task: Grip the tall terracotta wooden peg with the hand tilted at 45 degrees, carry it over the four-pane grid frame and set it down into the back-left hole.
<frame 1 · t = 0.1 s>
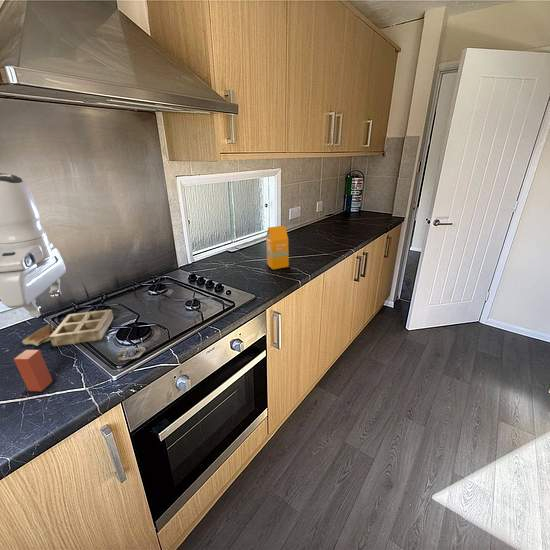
hand: (47, 305, 70), 21 cm above the worktop, tool pointing down, fingers open, 8 cm apart
peg: (40, 386, 75), on the worktop
grey flat piece: (131, 354, 86), on the worktop
four-pane grid frame: (85, 330, 98), on the worktop
orange juice: (277, 265, 148), on the worktop
shard: (39, 338, 95), on the worktop
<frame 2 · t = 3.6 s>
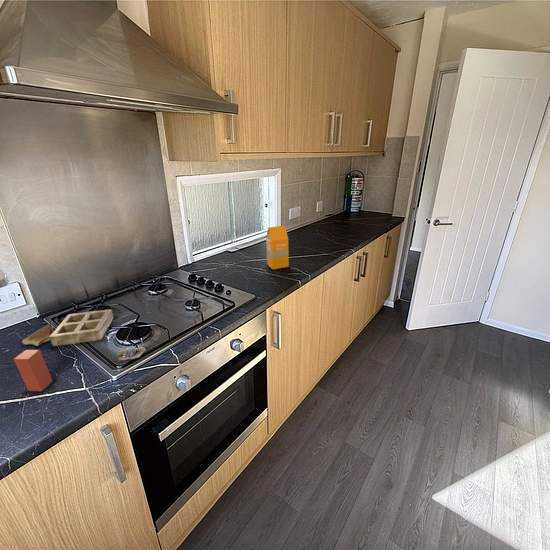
nothing on the worktop moved.
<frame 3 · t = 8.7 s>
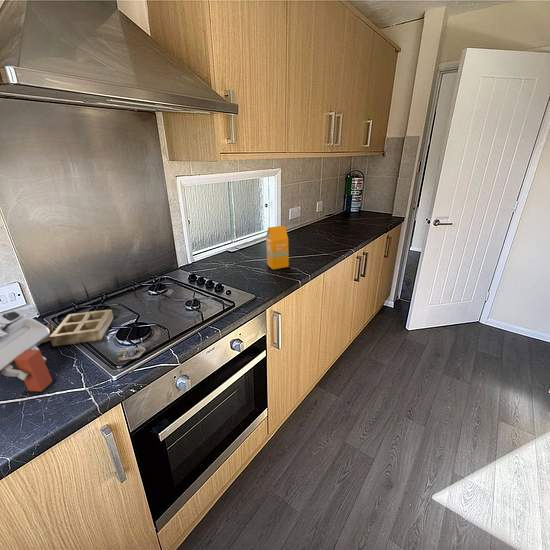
hand: (35, 369, 73), 5 cm above the worktop, tool tilted 45°, fingers closed on peg, 3 cm apart
peg: (40, 386, 75), on the worktop, touching gripper
everything else where it was.
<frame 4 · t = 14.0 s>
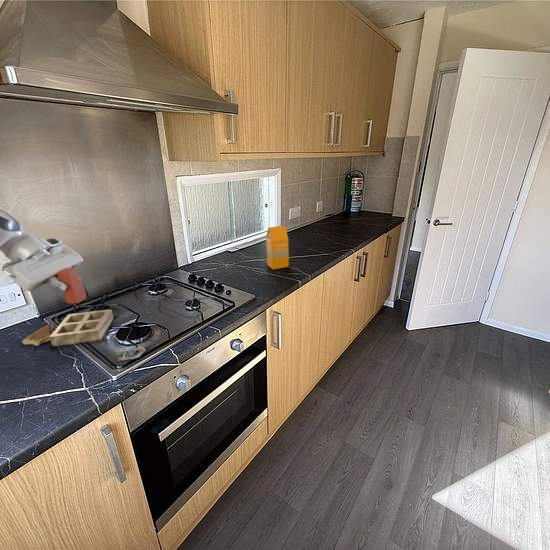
hand: (73, 284, 87), 18 cm above the worktop, tool tilted 45°, fingers closed on peg, 3 cm apart
peg: (76, 300, 90), point 13 cm above the worktop, touching gripper
everything else where it was.
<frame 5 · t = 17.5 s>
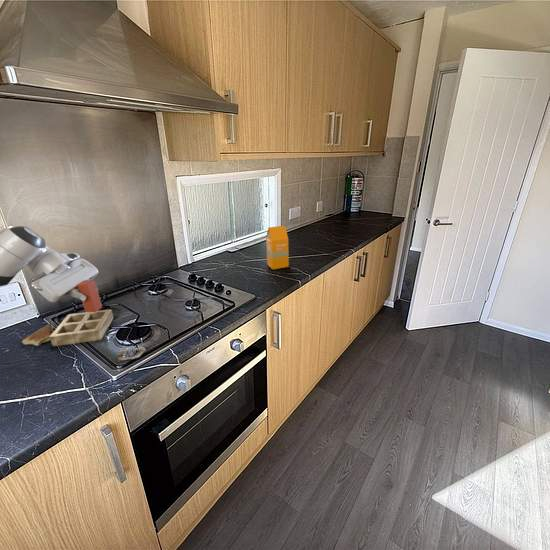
hand: (91, 295, 96), 11 cm above the worktop, tool tilted 45°, fingers closed on peg, 3 cm apart
peg: (94, 309, 98), point 6 cm above the worktop, touching gripper
everything else where it was.
when the fingers open (8 cm above the worktop, at t = 19.5 s): peg drops 3 cm, resting in four-pane grid frame.
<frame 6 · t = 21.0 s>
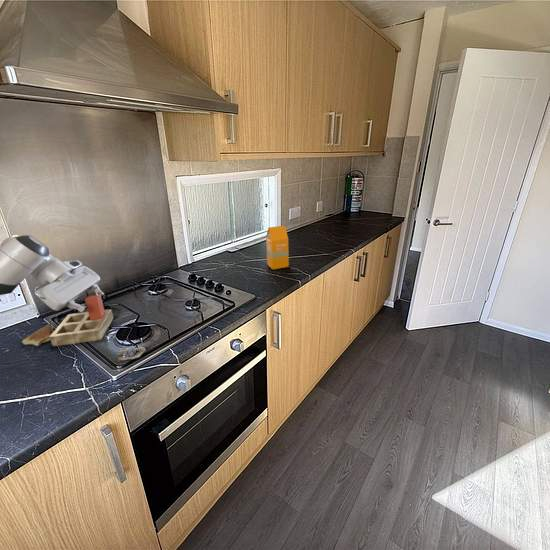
hand: (93, 302, 98), 9 cm above the worktop, tool tilted 45°, fingers open, 8 cm apart
peg: (99, 324, 101), resting in four-pane grid frame, tilted 10°
everything else where it was.
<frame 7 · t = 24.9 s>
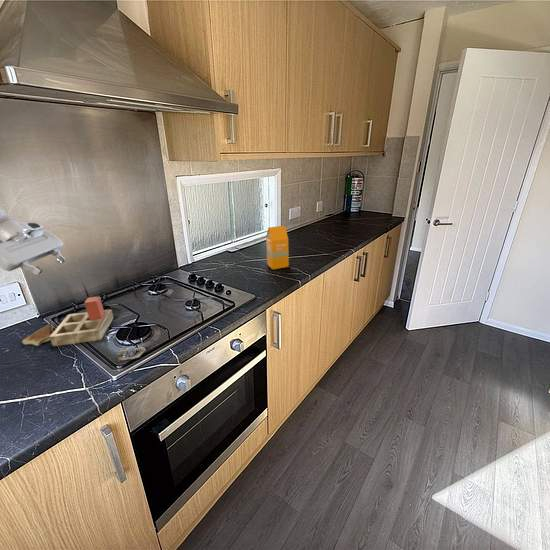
hand: (52, 266, 92), 22 cm above the worktop, tool tilted 45°, fingers open, 8 cm apart
peg: (100, 324, 101), resting in four-pane grid frame
everything else where it was.
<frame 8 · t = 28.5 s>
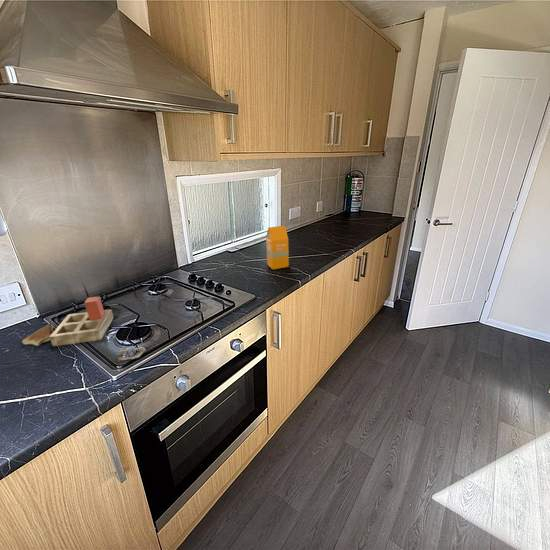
nothing on the worktop moved.
at the end: peg 0.6 cm from the target spot in the four-pane grid frame, point 0.0 cm above the four-pane grid frame's base; peg tilted 0°; the gripper is holding nothing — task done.
